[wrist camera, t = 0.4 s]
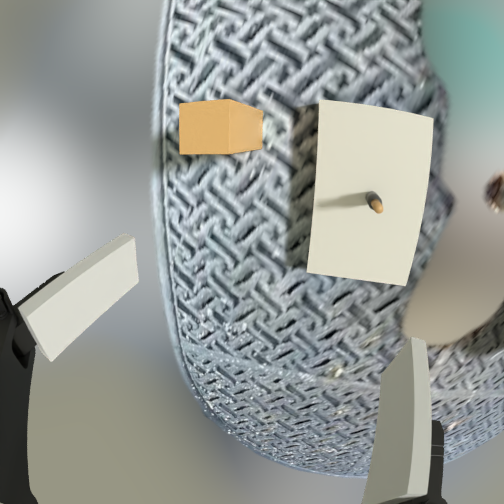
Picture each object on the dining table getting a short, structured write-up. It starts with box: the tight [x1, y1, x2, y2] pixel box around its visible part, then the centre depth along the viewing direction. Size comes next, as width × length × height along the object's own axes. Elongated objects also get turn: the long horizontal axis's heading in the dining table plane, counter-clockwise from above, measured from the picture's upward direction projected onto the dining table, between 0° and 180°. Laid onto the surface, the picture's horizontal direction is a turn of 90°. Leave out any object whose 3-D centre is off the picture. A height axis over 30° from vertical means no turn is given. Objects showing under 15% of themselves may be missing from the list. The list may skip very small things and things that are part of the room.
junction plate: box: [307, 100, 433, 286], centre depth 29 cm, size 22×14×8 cm, turn 178°
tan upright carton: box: [179, 99, 263, 154], centre depth 29 cm, size 5×5×12 cm
